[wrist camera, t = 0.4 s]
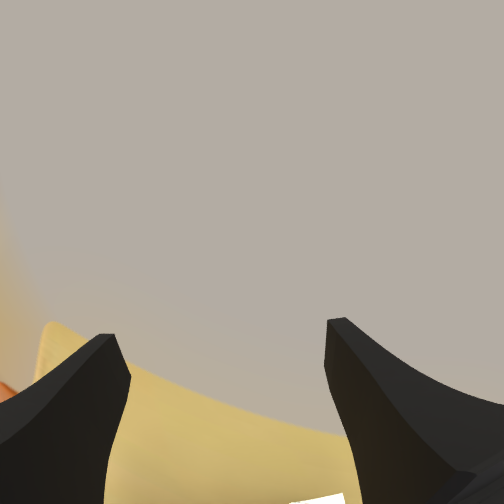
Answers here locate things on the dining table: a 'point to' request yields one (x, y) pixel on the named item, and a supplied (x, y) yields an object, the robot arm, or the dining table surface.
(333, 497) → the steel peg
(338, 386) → the robot arm
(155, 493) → the dining table surface
